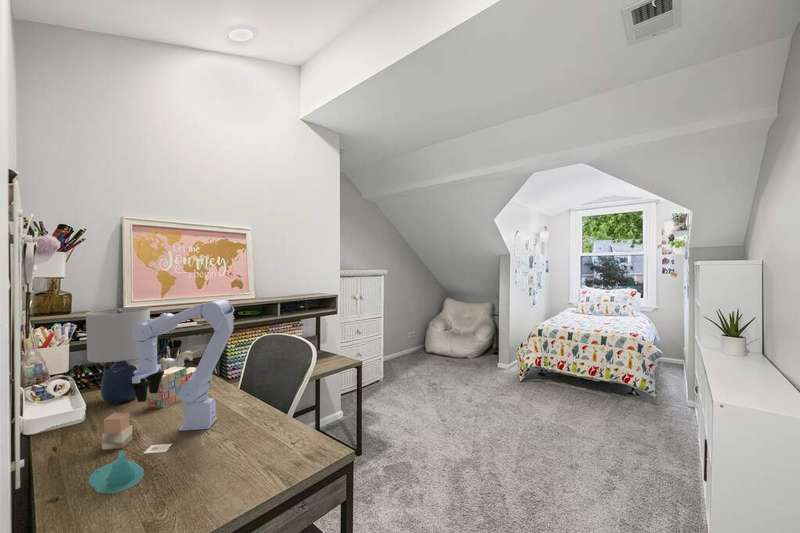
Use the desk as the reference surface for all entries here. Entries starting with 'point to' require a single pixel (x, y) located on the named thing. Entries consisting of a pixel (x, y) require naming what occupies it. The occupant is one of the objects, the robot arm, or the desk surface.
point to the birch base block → (117, 439)
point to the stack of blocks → (170, 386)
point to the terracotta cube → (116, 423)
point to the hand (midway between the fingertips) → (148, 397)
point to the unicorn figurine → (176, 360)
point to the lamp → (115, 348)
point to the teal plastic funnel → (116, 475)
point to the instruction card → (157, 448)
